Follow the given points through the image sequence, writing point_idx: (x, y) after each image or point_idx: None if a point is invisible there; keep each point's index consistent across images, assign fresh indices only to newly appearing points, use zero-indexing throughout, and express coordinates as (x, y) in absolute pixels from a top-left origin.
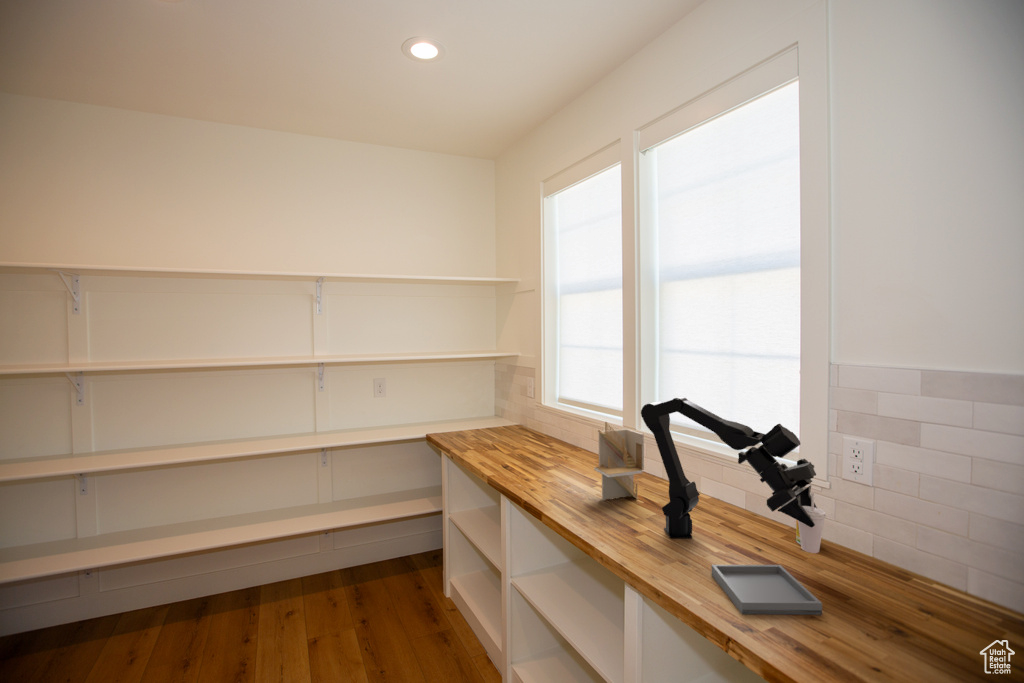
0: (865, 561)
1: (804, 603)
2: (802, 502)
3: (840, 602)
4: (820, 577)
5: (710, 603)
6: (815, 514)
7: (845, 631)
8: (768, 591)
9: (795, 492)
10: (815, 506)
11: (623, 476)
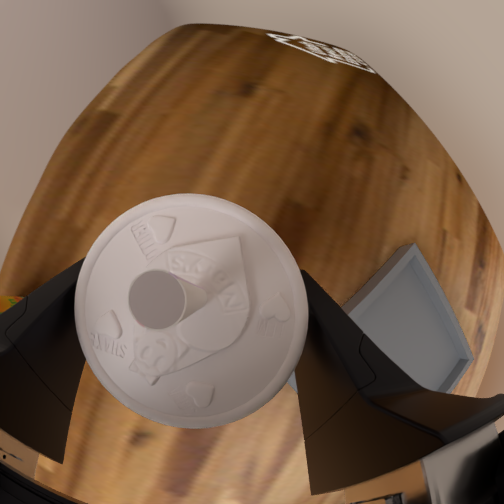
0: (54, 190)
1: (432, 273)
2: (54, 388)
3: (326, 218)
4: None
5: None
6: (267, 263)
7: (418, 208)
8: (399, 353)
9: (15, 459)
10: (57, 287)
11: None
